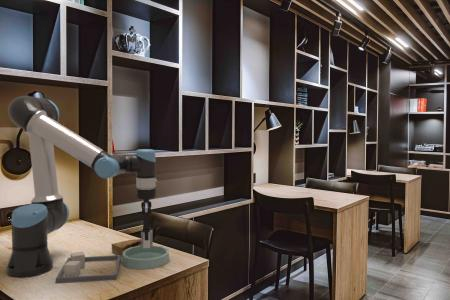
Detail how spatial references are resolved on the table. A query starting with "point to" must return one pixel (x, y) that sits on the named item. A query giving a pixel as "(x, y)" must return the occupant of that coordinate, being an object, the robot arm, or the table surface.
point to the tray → (91, 277)
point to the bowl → (145, 257)
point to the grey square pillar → (150, 239)
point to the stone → (124, 246)
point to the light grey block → (72, 269)
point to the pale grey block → (79, 258)
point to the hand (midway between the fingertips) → (146, 245)
